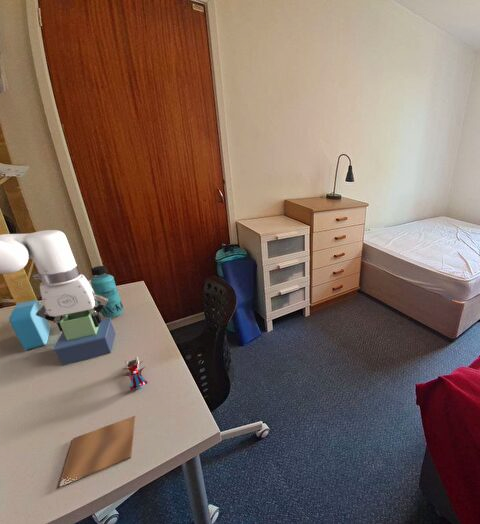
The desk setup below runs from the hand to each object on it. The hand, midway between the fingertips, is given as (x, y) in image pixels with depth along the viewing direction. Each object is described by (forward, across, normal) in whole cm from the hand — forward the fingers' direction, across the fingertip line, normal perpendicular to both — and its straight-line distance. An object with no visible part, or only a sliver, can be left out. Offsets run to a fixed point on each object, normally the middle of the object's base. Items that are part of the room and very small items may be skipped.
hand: (82, 327), depth 85 cm
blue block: (+8, 0, 0) cm, 8 cm away
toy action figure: (+8, +13, -22) cm, 27 cm away
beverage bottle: (+8, +4, +18) cm, 20 cm away
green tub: (+2, 0, 0) cm, 2 cm away
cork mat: (+8, +8, -41) cm, 43 cm away
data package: (+8, -15, +13) cm, 22 cm away
